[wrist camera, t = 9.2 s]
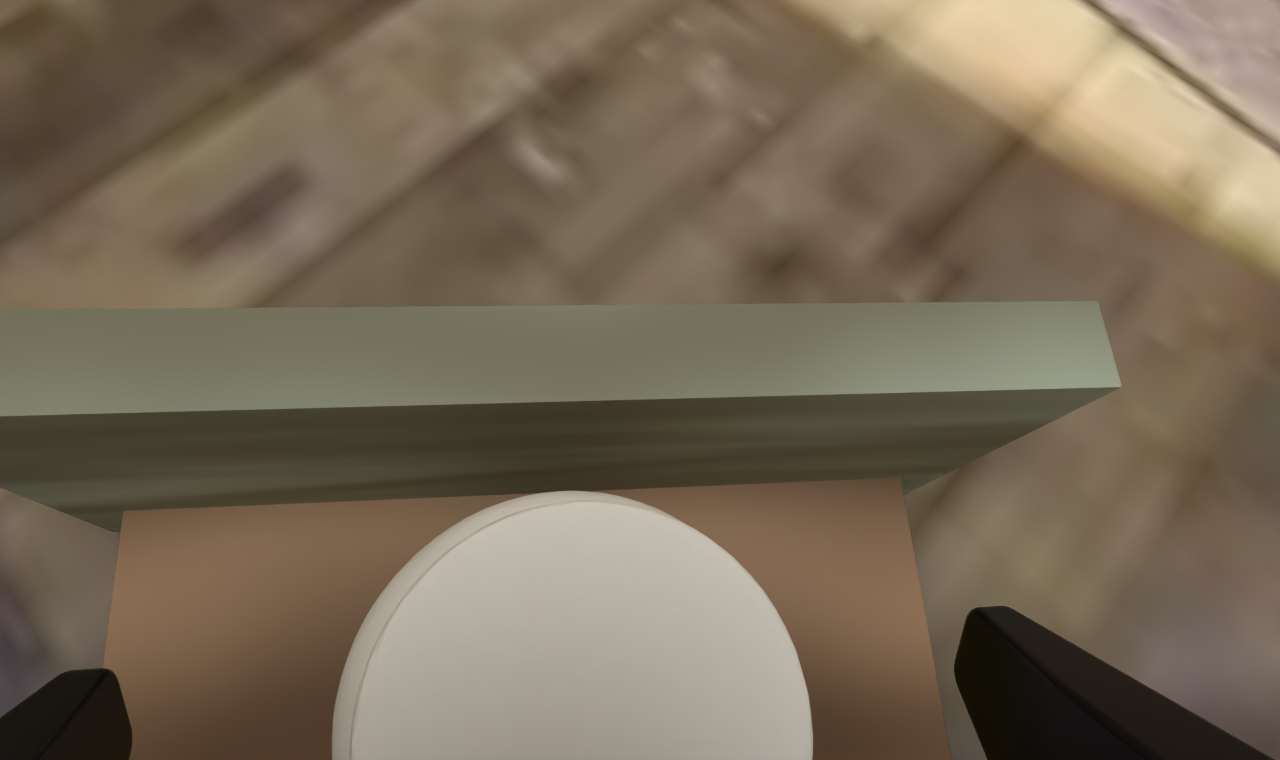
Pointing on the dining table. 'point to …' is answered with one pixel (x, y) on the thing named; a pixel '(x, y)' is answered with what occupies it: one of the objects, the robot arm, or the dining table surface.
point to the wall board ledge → (510, 474)
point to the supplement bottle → (572, 645)
